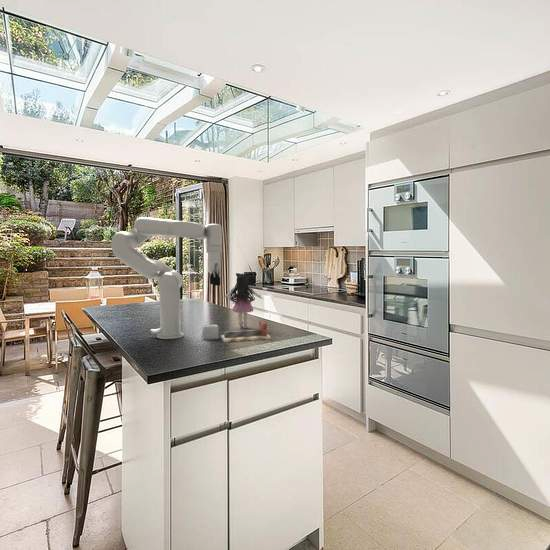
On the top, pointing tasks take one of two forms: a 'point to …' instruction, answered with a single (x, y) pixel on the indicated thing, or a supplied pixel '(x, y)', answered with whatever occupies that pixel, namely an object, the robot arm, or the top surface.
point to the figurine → (242, 297)
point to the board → (247, 334)
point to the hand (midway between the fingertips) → (215, 284)
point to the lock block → (209, 332)
